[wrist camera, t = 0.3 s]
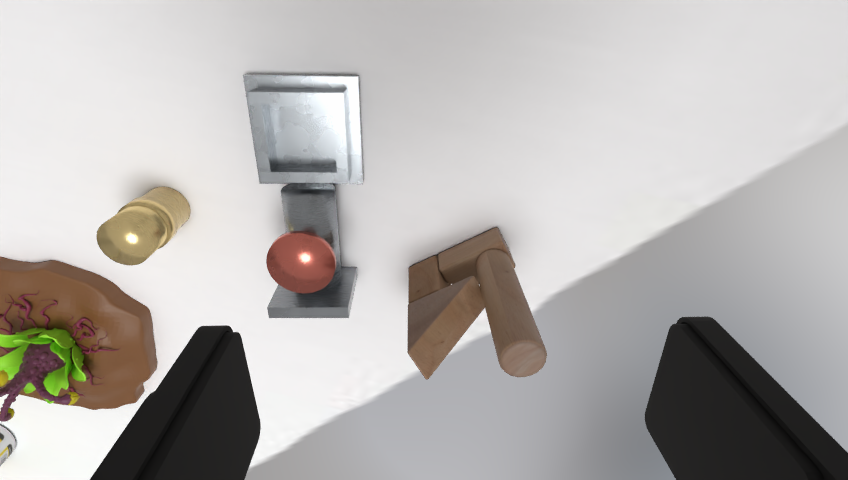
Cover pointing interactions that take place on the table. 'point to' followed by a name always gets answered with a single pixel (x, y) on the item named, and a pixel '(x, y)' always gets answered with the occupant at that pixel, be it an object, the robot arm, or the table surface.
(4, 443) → the supplement bottle
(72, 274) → the plant
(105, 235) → the cylinder
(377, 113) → the table surface
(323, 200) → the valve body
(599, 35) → the table surface
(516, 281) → the wooden block
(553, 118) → the table surface
